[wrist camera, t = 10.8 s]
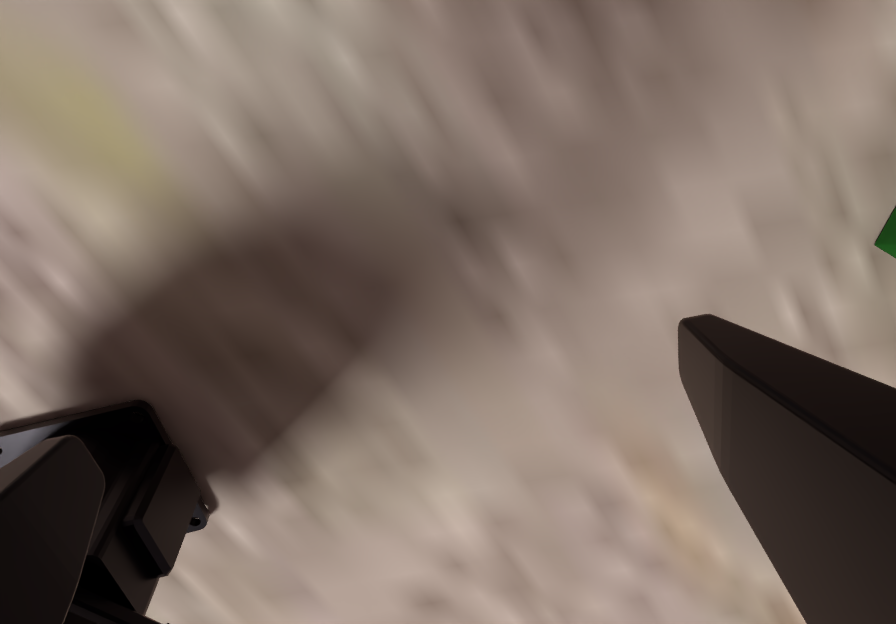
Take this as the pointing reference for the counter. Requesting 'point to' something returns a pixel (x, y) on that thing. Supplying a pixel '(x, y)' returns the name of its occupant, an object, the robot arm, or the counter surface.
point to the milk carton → (888, 236)
